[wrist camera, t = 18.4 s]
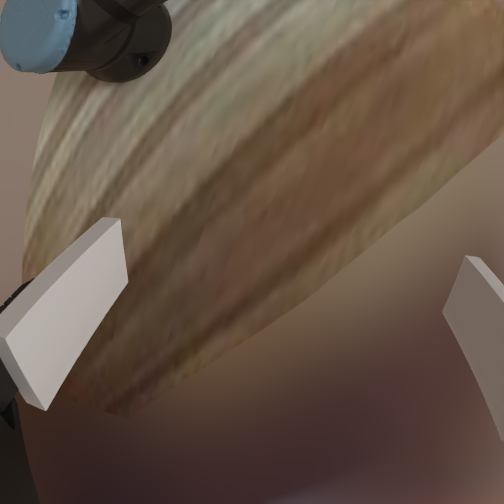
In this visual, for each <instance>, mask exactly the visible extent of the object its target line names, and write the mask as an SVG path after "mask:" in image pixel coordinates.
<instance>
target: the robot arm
mask: <svg viewBox="0 0 504 504" xmlns="http://www.w3.org/2000/svg"><path fill="white" fill-rule="evenodd" d="M165 1H167V0H7V1H6V3H5V5H4V8H3V11H2V14H1V21H0V49H1V53H2V55H3V57H4V59H5V61H6V62H7V63H8V64H9V65H10V66H11V67H12V68H14V69H15V70H18V71H21V72H34V73H39V74H45V73H48V72H63V71H86V72H87V73H89V74H90V75H91V76H93V77H94V78H96V79H99V80H102V81H105V82H126V81H130V80H133V79H136V78H138V77H140V76H142V75H144V74H145V73H147V72H148V71H150V70H151V69H152V68H153V67H154V66H155V65H156V64H157V63H158V62H159V60H160V59H161V58H162V56H163V55H164V53H165V51H166V49H167V47H168V44H169V41H170V37H171V30H172V25H171V18H170V15H169V12H168V10H167V9H166V7H165V6H164V4H163V3H164V2H165ZM127 283H128V277H127V270H126V263H125V256H124V248H123V240H122V231H121V222H120V219H118V218H106V217H102V218H101V219H100V220H99V221H98V222H97V223H95V224H94V225H93V226H92V227H91V228H89V229H88V230H87V231H86V232H85V233H84V234H83V235H81V236H80V237H79V238H78V239H77V240H76V241H75V242H73V243H72V244H71V245H70V246H69V247H68V248H67V249H66V250H65V251H63V252H62V253H61V254H60V255H59V256H58V257H57V258H56V259H55V260H54V261H53V262H52V263H50V264H49V265H48V266H47V267H46V268H45V269H44V270H43V271H42V272H41V273H40V274H39V275H38V276H37V277H36V278H33V279H31V280H30V281H28V282H26V283H25V284H23V285H21V286H20V287H19V288H18V289H17V290H16V291H15V292H14V293H13V294H12V297H9V298H8V299H7V301H5V302H4V305H2V306H1V307H0V504H41V503H40V500H39V497H38V494H37V491H36V487H35V484H34V480H33V477H32V473H31V469H30V466H29V462H28V458H27V454H26V449H25V444H24V439H23V434H22V429H21V423H20V417H19V411H18V405H17V402H16V400H15V398H14V396H15V394H16V392H17V391H18V390H19V392H20V393H21V394H22V396H23V398H24V399H25V401H26V402H27V403H29V404H31V405H33V406H36V407H38V408H40V409H42V410H45V411H46V410H47V409H48V407H49V405H50V403H51V402H52V400H53V398H54V396H55V395H56V393H57V391H58V390H59V388H60V386H61V384H62V383H63V381H64V379H65V378H66V376H67V374H68V373H69V371H70V369H71V368H72V366H73V365H74V363H75V361H76V360H77V358H78V357H79V355H80V353H81V352H82V350H83V349H84V347H85V345H86V344H87V342H88V341H89V339H90V338H91V336H92V335H93V333H94V331H95V330H96V328H97V327H98V325H99V324H100V322H101V321H102V319H103V318H104V316H105V315H106V313H107V312H108V310H109V309H110V307H111V306H112V305H113V303H114V302H115V300H116V299H117V297H118V296H119V294H120V293H121V291H122V290H123V289H124V287H125V286H126V284H127ZM442 313H443V315H444V317H445V318H446V320H447V322H448V324H449V326H450V328H451V329H452V331H453V333H454V335H455V337H456V339H457V341H458V343H459V345H460V346H461V349H462V351H463V353H464V355H465V357H466V359H467V361H468V363H469V365H470V367H471V369H472V371H473V373H474V375H475V378H476V380H477V382H478V384H479V386H480V389H481V391H482V393H483V396H484V398H485V400H486V403H487V405H488V407H489V410H490V412H491V415H492V417H493V419H494V422H495V425H496V427H497V430H498V433H499V435H500V438H501V441H504V285H503V284H502V283H501V282H500V281H499V279H498V278H497V277H496V276H495V275H494V274H493V272H492V271H491V270H490V269H489V268H488V267H487V266H486V265H485V263H484V262H483V261H482V260H481V259H480V258H479V257H473V256H466V255H465V257H464V260H463V263H462V266H461V268H460V271H459V273H458V276H457V278H456V281H455V283H454V286H453V288H452V291H451V293H450V295H449V298H448V300H447V302H446V305H445V307H444V309H443V311H442Z"/></svg>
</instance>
